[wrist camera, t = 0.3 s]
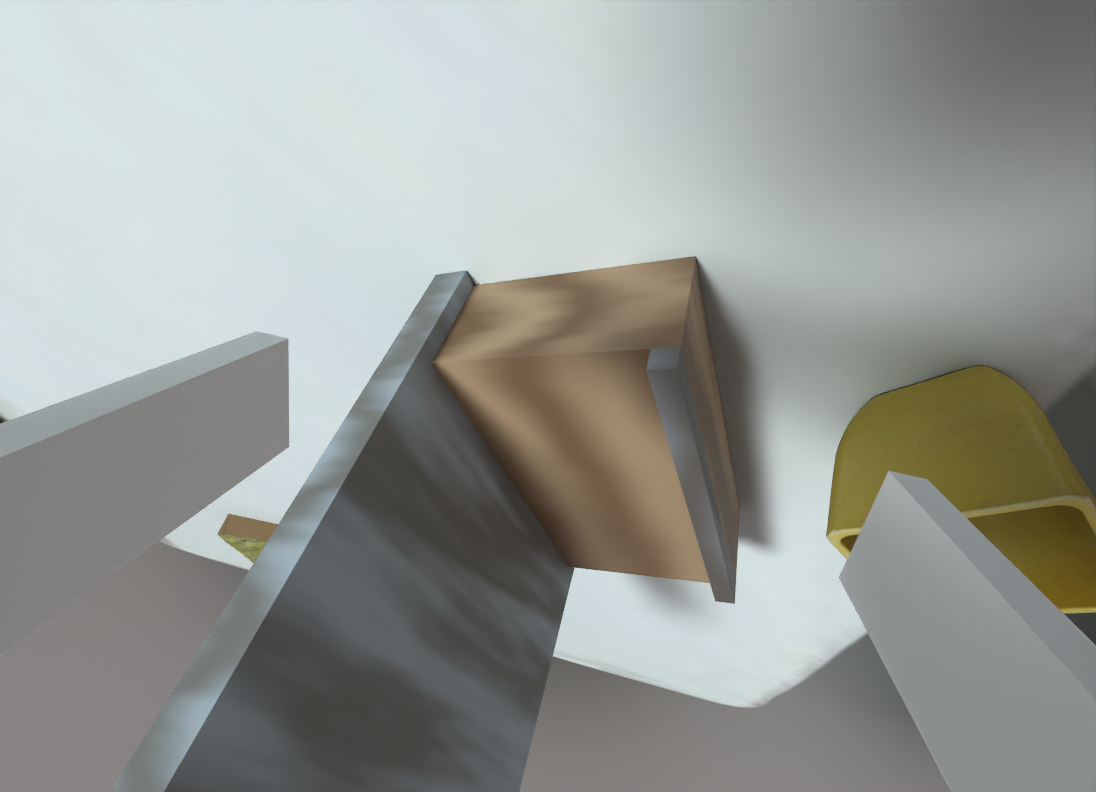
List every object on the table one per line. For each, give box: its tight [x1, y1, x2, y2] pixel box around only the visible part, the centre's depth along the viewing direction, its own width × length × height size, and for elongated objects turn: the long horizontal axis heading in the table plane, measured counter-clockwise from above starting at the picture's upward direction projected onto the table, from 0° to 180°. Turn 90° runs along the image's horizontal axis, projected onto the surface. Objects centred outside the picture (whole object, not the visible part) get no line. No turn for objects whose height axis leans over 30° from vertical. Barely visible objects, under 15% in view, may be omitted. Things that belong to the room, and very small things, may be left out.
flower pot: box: [826, 366, 1096, 613], centre depth 25 cm, size 9×9×9 cm
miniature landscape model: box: [218, 514, 278, 563], centre depth 78 cm, size 22×24×5 cm
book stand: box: [113, 257, 740, 792], centre depth 28 cm, size 14×24×24 cm, turn 20°
